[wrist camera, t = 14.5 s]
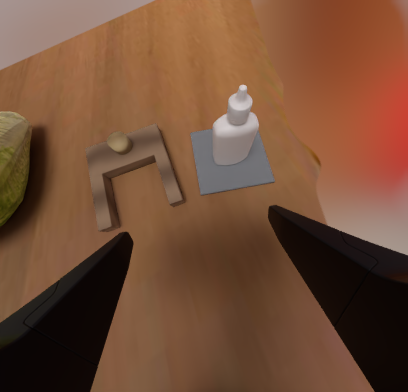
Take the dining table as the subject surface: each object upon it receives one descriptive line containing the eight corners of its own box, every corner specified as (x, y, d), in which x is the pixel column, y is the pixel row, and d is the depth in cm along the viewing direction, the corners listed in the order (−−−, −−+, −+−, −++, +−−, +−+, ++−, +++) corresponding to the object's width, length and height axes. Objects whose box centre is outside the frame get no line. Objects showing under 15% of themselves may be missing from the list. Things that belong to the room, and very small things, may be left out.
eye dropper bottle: (217, 142, 26) (219, 66, 14) (248, 149, 25) (278, 75, 14) (210, 163, 25) (207, 100, 13) (242, 171, 24) (269, 111, 13)
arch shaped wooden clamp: (184, 202, 24) (179, 195, 20) (108, 231, 23) (87, 230, 19) (160, 131, 28) (151, 114, 24) (94, 154, 27) (74, 141, 24)
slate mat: (273, 182, 24) (274, 181, 23) (201, 195, 24) (200, 194, 24) (254, 122, 27) (255, 120, 27) (190, 134, 27) (190, 132, 27)
